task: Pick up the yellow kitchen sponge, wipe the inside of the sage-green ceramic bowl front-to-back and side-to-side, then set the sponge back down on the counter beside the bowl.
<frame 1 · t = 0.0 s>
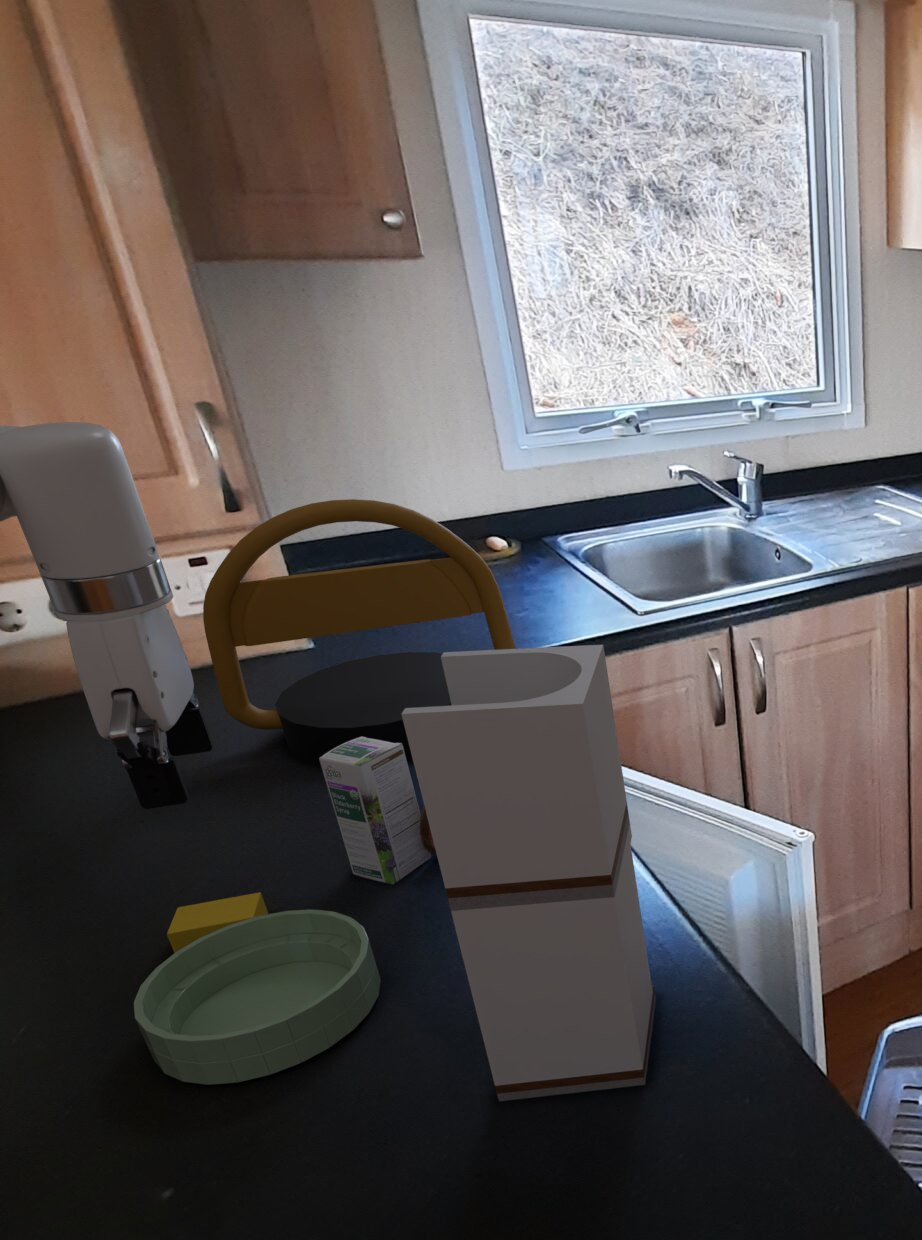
hand: (180, 777, 90), 20 cm above the countertop, tool pointing down, fingers open, 9 cm apart
chair: (391, 729, 144), on the countertop
sponge: (226, 941, 102), on the countertop
striped white pedestal: (583, 1051, 90), on the countertop
bowl: (274, 1018, 93), on the countertop
tin: (479, 836, 120), on the countertop
syrup box: (394, 868, 114), on the countertop
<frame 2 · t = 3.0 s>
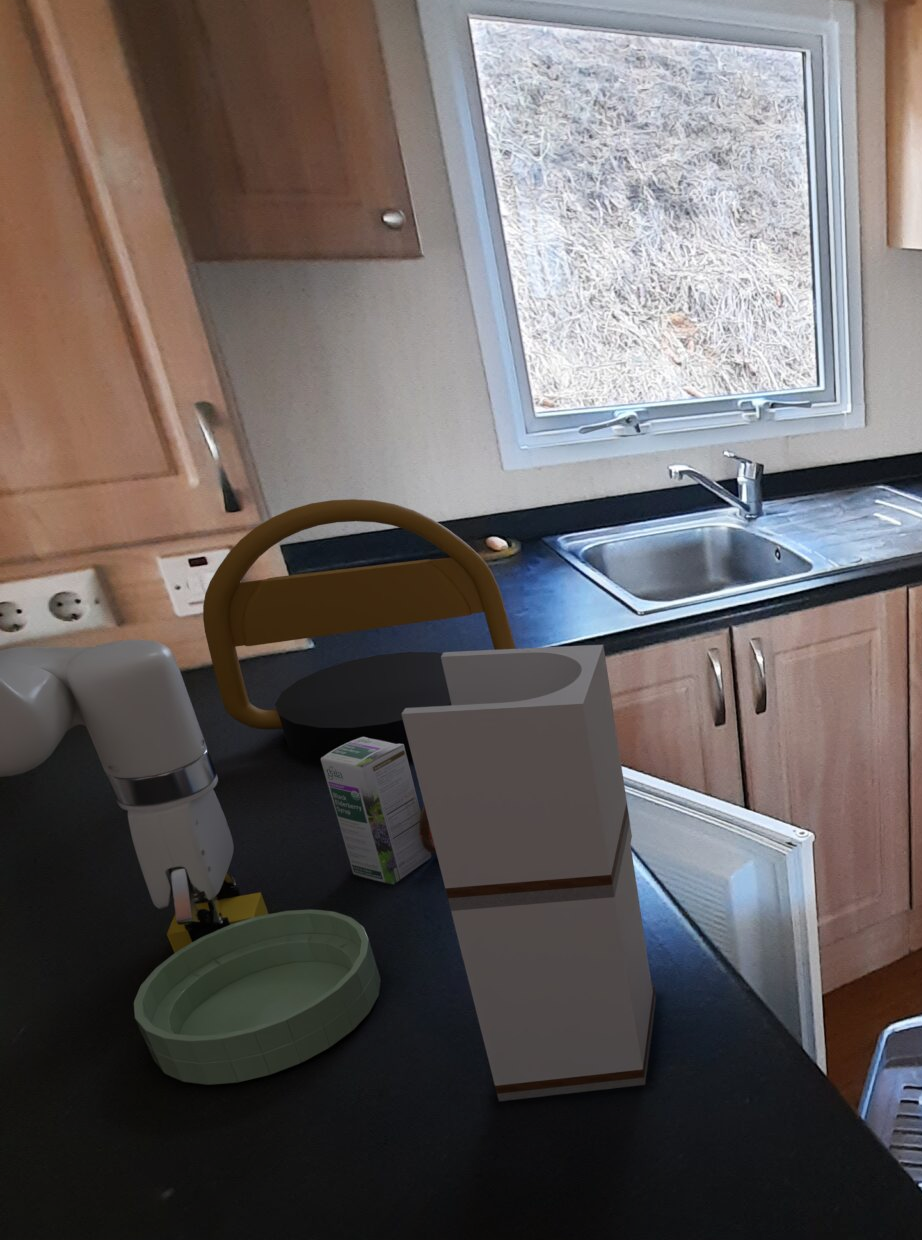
hand: (224, 938, 102), 0 cm above the countertop, tool pointing down, fingers closed on sponge, 4 cm apart
sponge: (226, 941, 102), on the countertop, touching gripper
everything else where it was.
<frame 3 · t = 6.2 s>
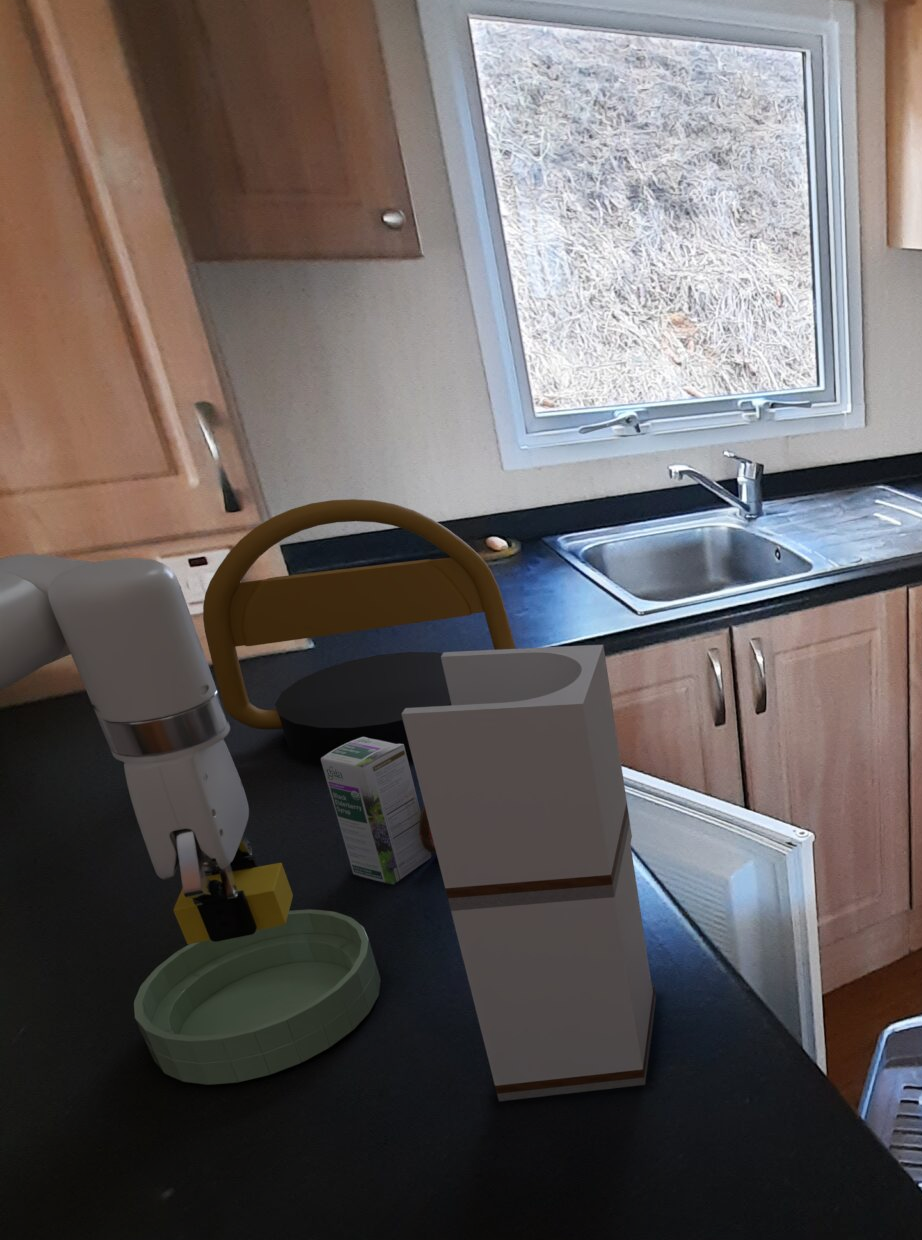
hand: (240, 916, 88), 11 cm above the countertop, tool pointing down, fingers closed on sponge, 4 cm apart
sponge: (242, 919, 88), point 11 cm above the countertop, touching gripper
everything else where it was.
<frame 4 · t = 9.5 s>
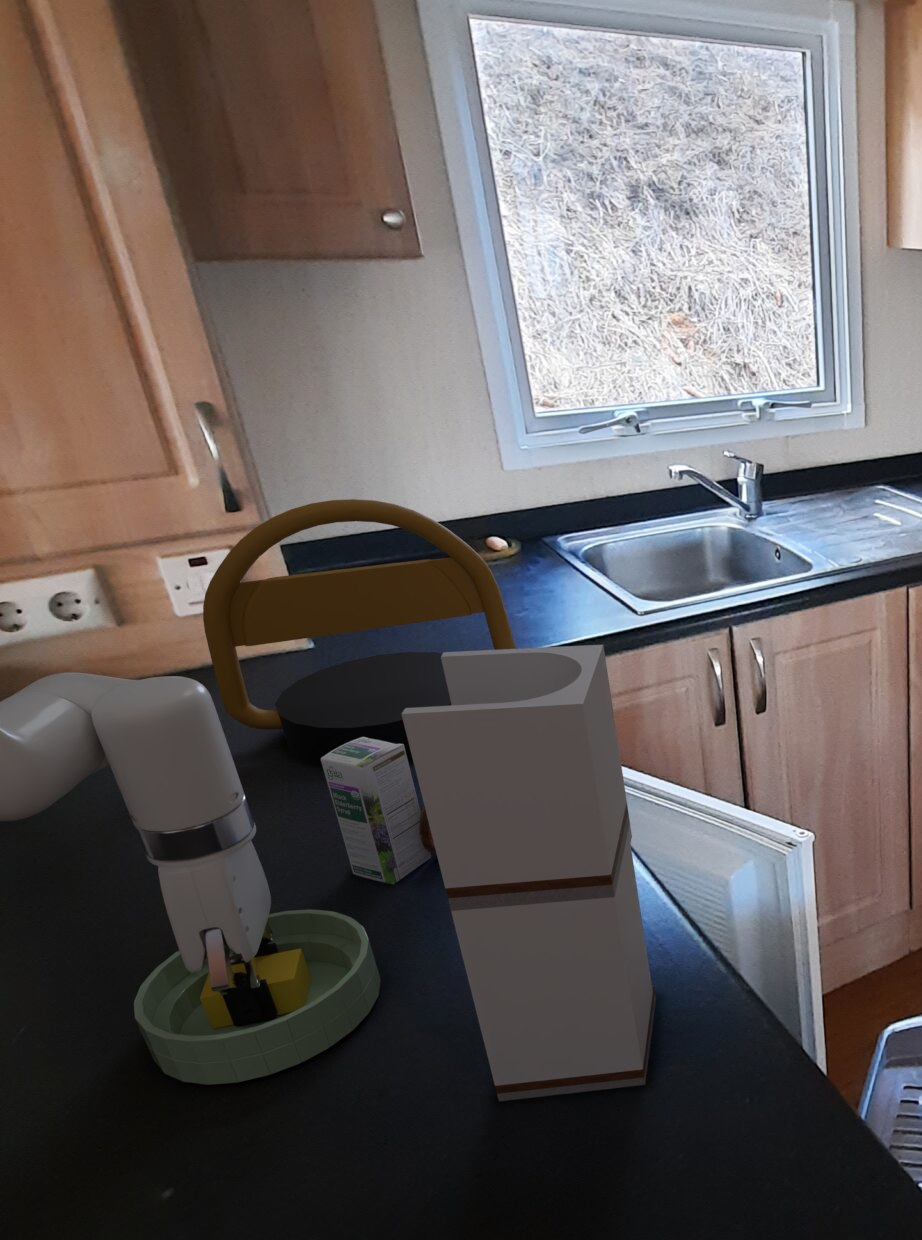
hand: (261, 1000, 93), 1 cm above the countertop, tool pointing down, fingers closed on sponge, 4 cm apart
sponge: (263, 1003, 93), point 1 cm above the countertop, touching gripper
everything else where it was.
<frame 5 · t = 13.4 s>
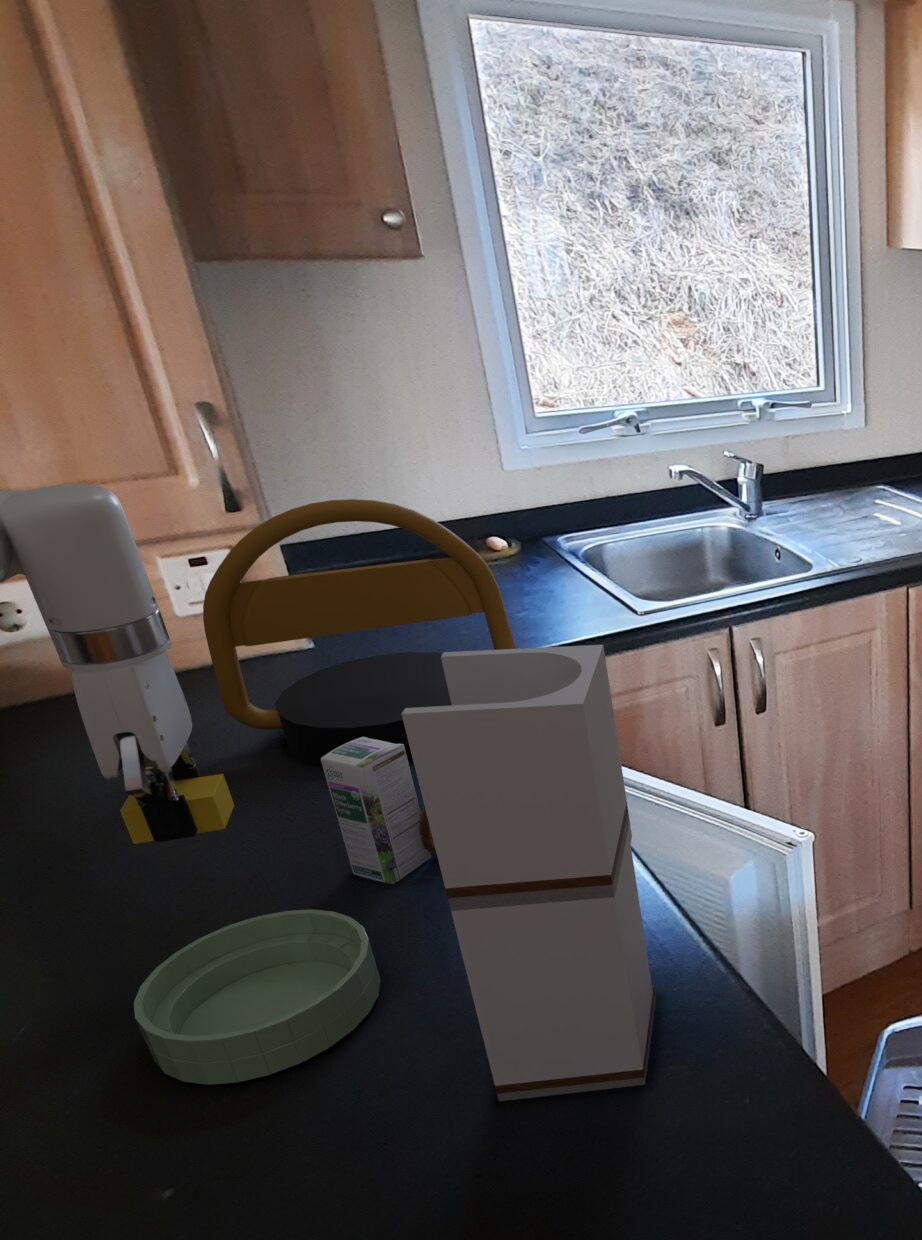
hand: (183, 821, 96), 14 cm above the countertop, tool pointing down, fingers closed on sponge, 4 cm apart
sponge: (185, 824, 96), point 14 cm above the countertop, touching gripper
everything else where it was.
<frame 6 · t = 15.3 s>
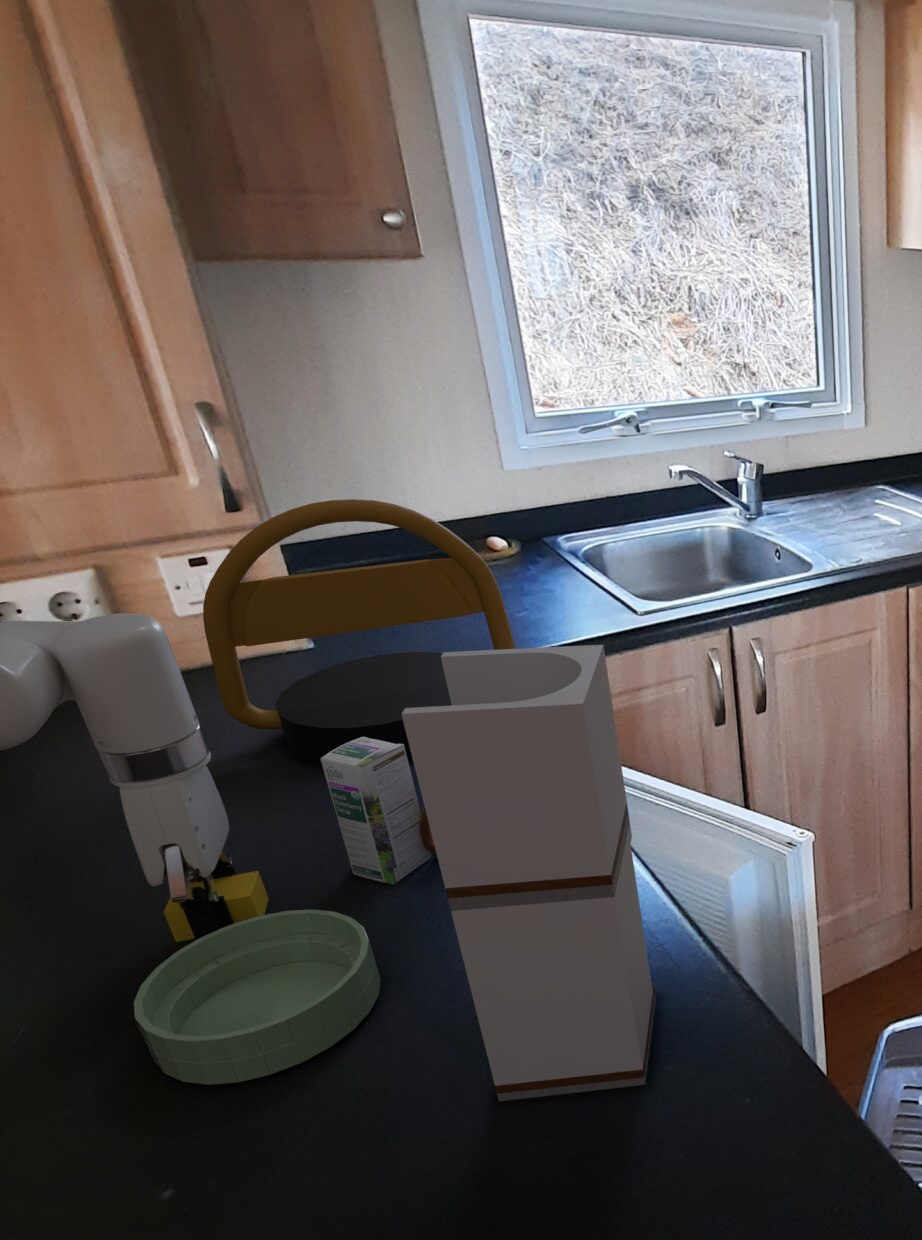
hand: (221, 917, 101), 3 cm above the countertop, tool pointing down, fingers closed on sponge, 4 cm apart
sponge: (223, 920, 101), point 2 cm above the countertop, touching gripper
everything else where it was.
when the fingers open (0 cm above the countertop, at t = 16.3 s): sponge stays where it is, on the countertop.
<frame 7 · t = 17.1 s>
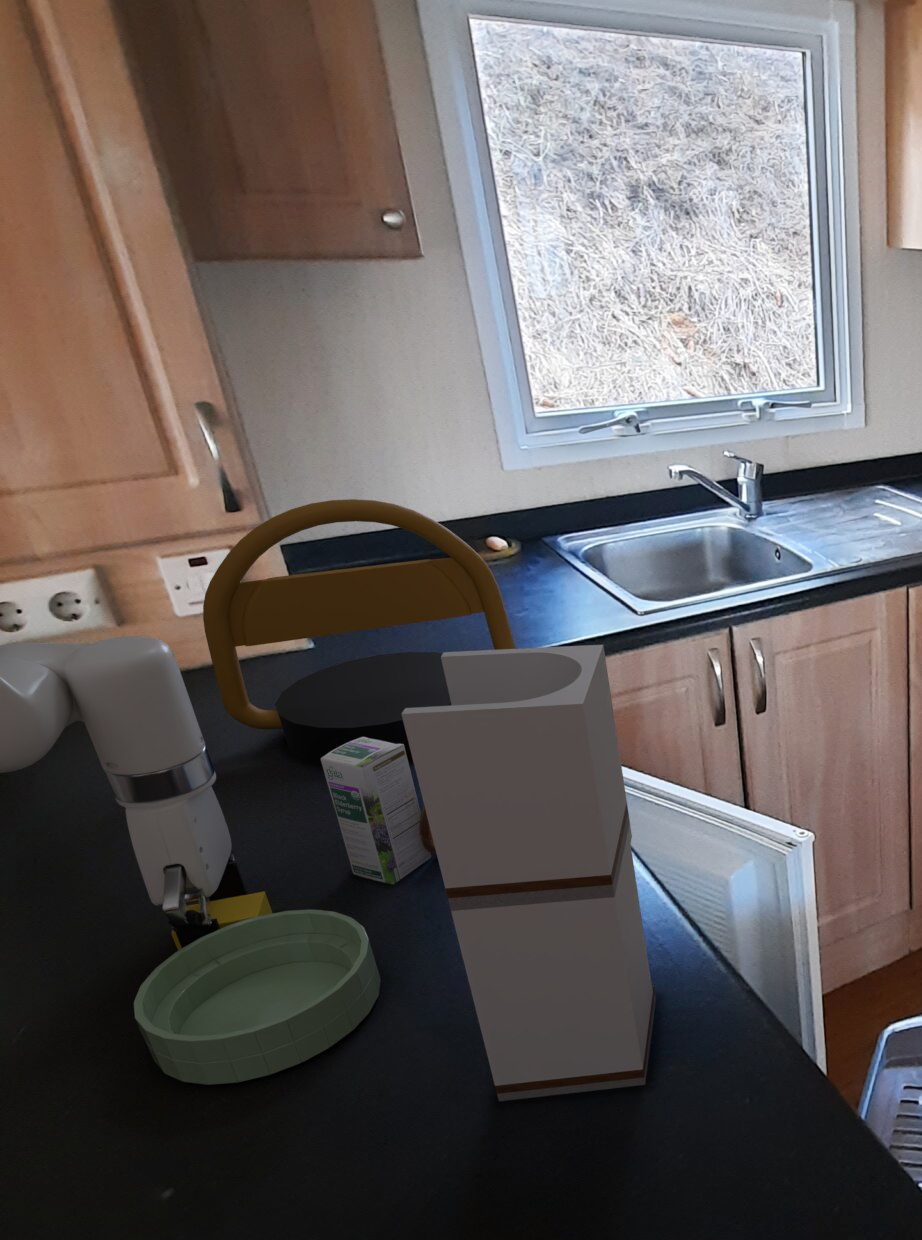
hand: (219, 928, 101), 2 cm above the countertop, tool pointing down, fingers open, 9 cm apart
sponge: (230, 940, 102), on the countertop
everything else where it was.
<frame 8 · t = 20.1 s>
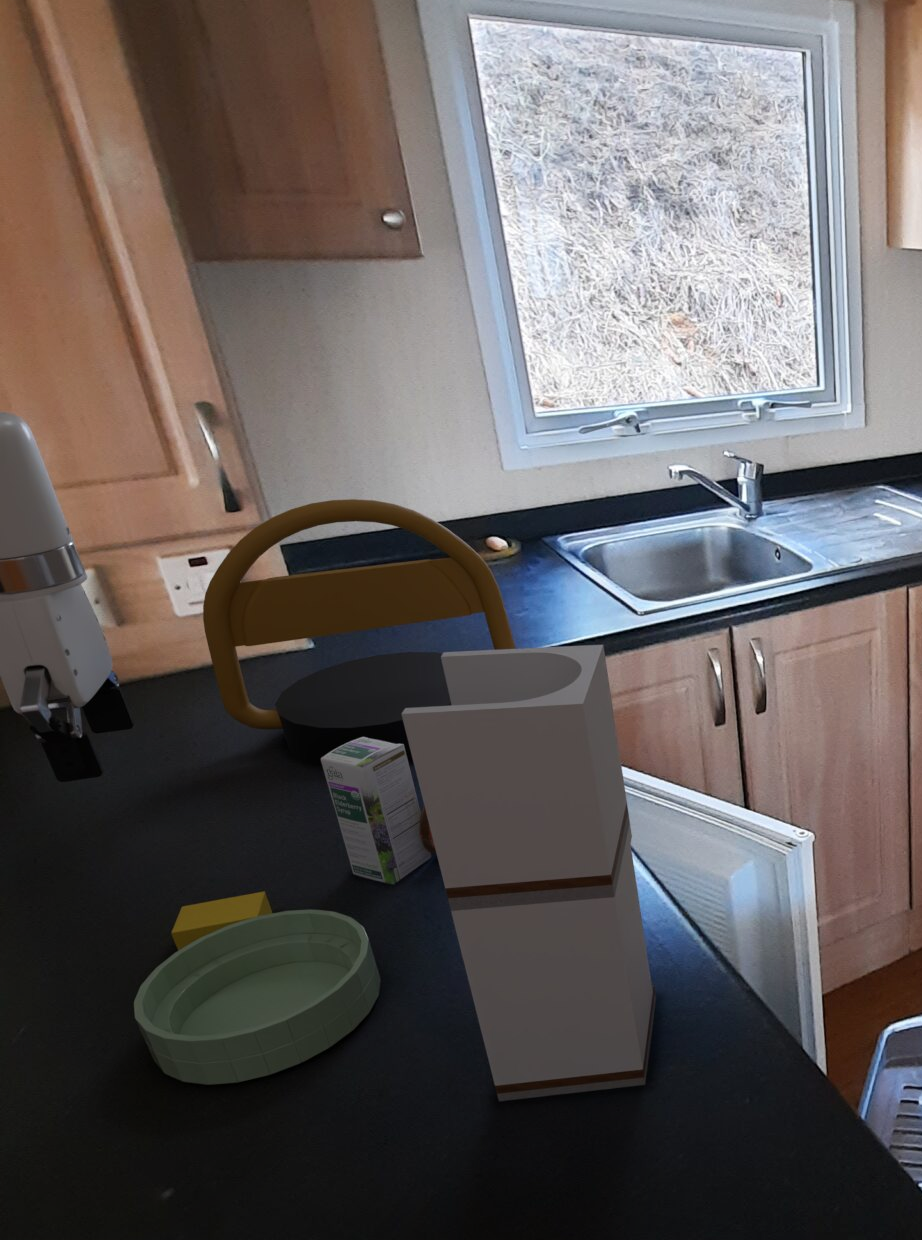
hand: (98, 753, 94), 20 cm above the countertop, tool pointing down, fingers open, 9 cm apart
nothing on the countertop moved.
at the end: sponge inside the target area (0.3 cm from its centre), on the countertop; the gripper is holding nothing; sponge tilted 0° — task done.
